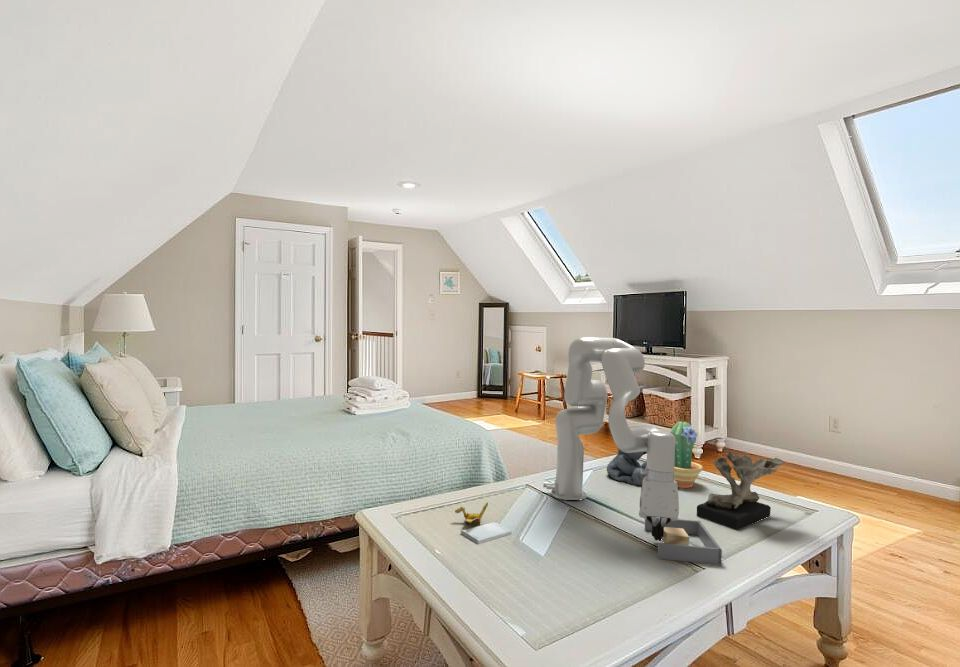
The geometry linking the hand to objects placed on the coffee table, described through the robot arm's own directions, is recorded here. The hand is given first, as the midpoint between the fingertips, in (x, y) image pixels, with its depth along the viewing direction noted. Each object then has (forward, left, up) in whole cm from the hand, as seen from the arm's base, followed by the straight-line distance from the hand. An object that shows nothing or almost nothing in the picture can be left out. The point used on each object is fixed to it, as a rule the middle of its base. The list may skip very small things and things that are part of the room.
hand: (657, 538), depth 146 cm
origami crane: (-54, +3, -2) cm, 54 cm away
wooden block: (+5, +1, -2) cm, 5 cm away
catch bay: (+6, 0, -1) cm, 6 cm away
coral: (+33, +27, -2) cm, 43 cm away
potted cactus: (+21, +61, -2) cm, 65 cm away
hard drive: (-49, -4, -2) cm, 49 cm away
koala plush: (+1, +64, -2) cm, 64 cm away
